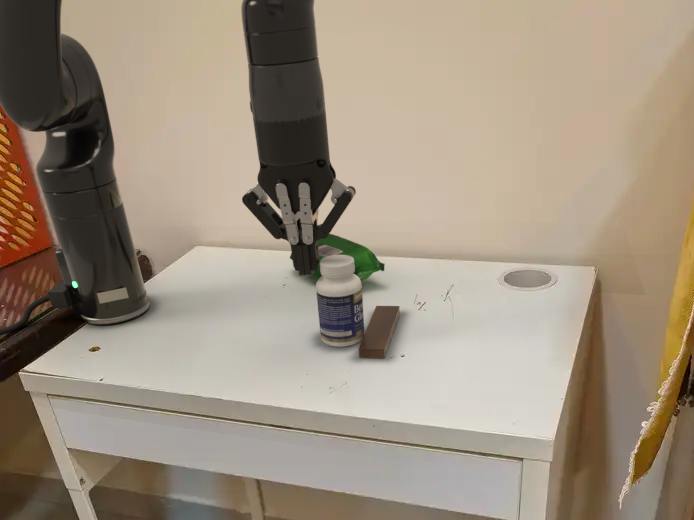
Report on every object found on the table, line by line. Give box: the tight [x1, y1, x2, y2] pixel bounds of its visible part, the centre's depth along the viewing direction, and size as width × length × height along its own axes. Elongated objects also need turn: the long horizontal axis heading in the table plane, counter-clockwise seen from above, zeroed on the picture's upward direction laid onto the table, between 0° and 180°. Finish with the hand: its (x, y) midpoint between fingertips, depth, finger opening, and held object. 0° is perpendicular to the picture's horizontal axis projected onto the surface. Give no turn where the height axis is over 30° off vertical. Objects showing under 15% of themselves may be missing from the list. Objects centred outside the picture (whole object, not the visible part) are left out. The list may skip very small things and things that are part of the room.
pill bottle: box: [315, 255, 365, 348], centre depth 85 cm, size 5×5×10 cm
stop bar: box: [358, 305, 401, 359], centre depth 88 cm, size 3×12×1 cm, turn 168°
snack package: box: [289, 233, 386, 282], centre depth 102 cm, size 7×16×5 cm, turn 35°
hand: (307, 273), depth 84 cm, fingers closed
